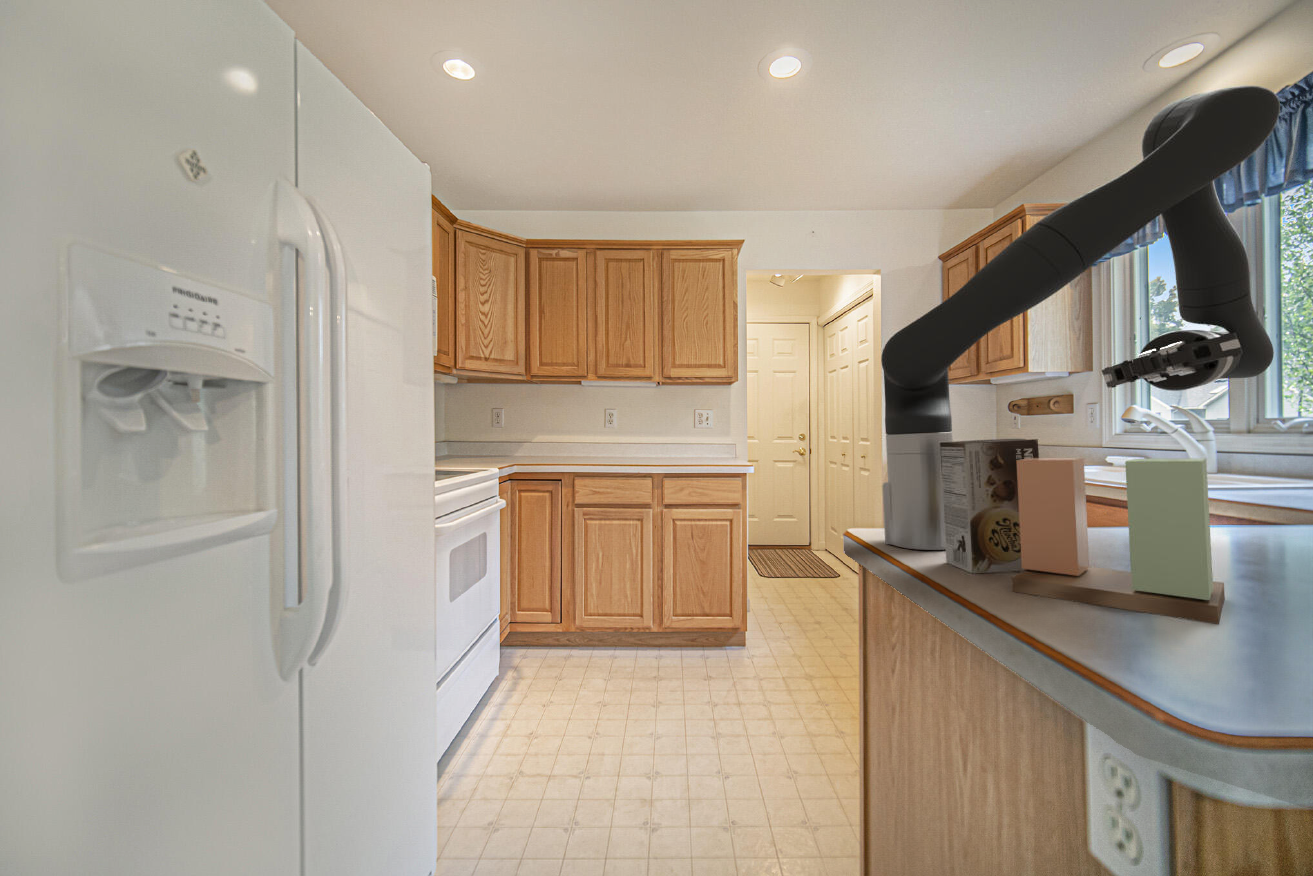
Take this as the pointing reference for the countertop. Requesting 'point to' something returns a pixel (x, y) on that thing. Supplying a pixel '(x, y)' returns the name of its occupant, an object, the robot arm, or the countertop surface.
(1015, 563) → the coffee box
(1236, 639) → the countertop surface
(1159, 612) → the brown wooden board
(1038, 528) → the peach rectangular block
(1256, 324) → the robot arm
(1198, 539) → the pale green block
